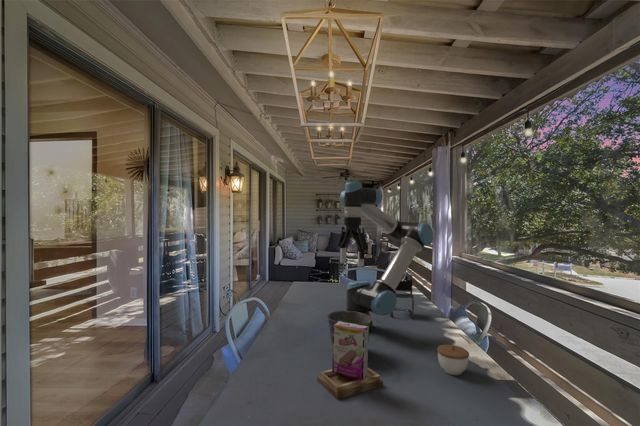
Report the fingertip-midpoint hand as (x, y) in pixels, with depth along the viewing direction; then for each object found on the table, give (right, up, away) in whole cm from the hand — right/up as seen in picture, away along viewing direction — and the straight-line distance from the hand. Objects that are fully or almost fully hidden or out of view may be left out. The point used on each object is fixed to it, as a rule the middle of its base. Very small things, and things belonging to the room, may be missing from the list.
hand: (351, 264), depth 144 cm
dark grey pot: (-3, -35, -12) cm, 37 cm away
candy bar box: (-4, -32, -35) cm, 48 cm away
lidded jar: (+35, -36, -25) cm, 56 cm away
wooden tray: (-4, -34, -35) cm, 49 cm away
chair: (+33, -36, +44) cm, 66 cm away
